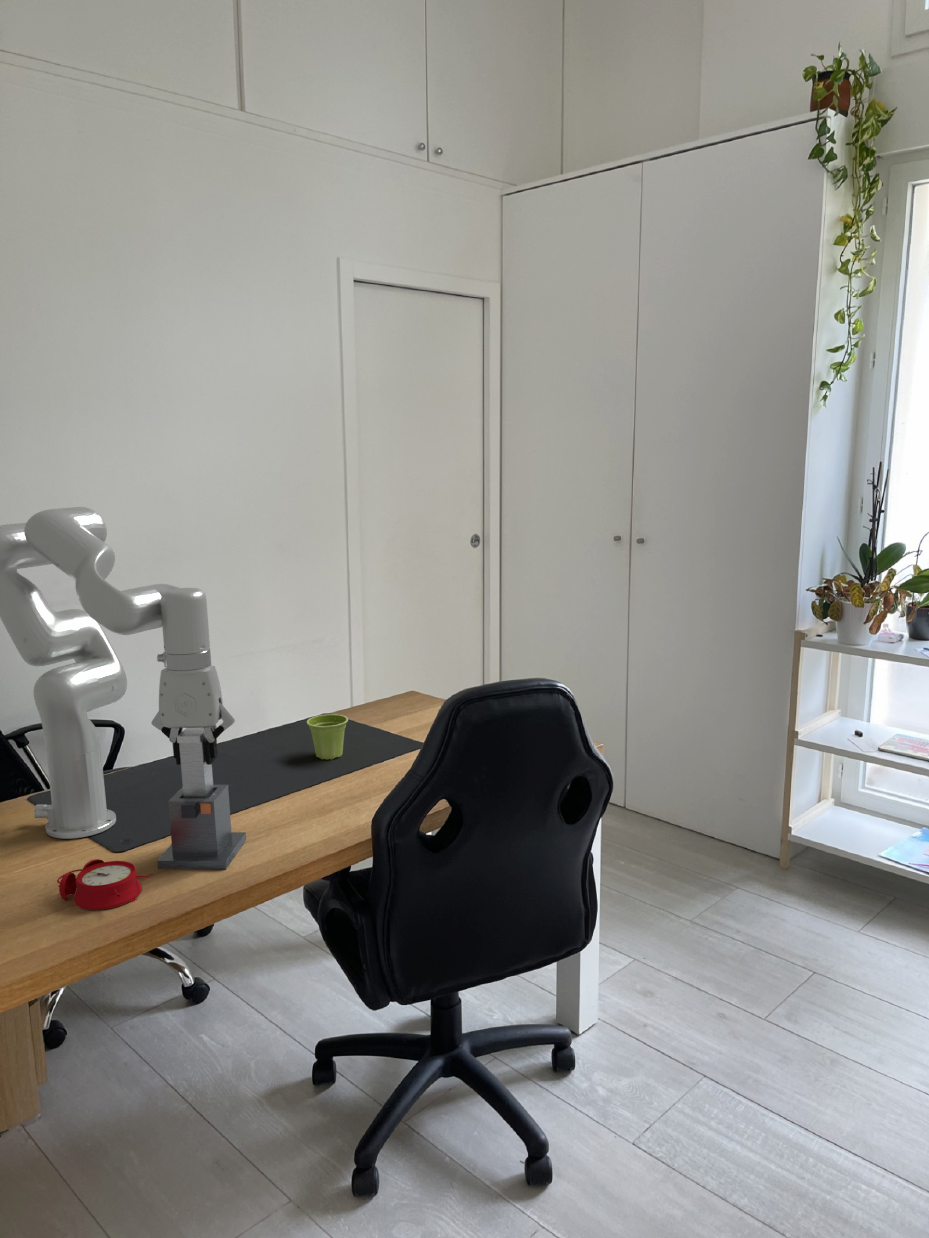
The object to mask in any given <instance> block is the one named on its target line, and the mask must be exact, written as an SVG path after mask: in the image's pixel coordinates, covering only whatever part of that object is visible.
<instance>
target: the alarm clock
mask: <svg viewBox="0 0 929 1238" xmlns="http://www.w3.org/2000/svg"><path fill="white" fill-rule="evenodd" d="M75 872H79V873H78V874H77V875H76V874H75ZM137 873H138V870H137V868H136V865H134V863H131V862H129V861H124V860H109V861H104V860H102V859H100V858H99V859H98V858H97V859H91V860H90V861H88V862H87V863H85V864H84V866H83V867H82V868H80V869H75V870H71V871H69V872H66V873H64V874H63V875H61V876H60V877H58V878H57V880H56V883H58V884H59V885H58V893H59V896H60V898H61V899H62V900H64V901H68V899H67V897H69V896H70V894H71V895H74V896H73V903H74V905H75V906H76V907H78V908H79V909H82V910H87V911H99V910H109V909H113V908H116V907H117V908H118V907H120V906H122V905H125V904H128V903H130V902H133V901H134V902H136V901H138V898H137V897H139V896H140V894H141V893H142V891H143V884H142V883H141V882H140V880H139V878H152V874H149V875H143V874H142V875H141V874H140V875H138V874H137ZM68 895H69V896H68ZM135 900H136V901H135Z"/></svg>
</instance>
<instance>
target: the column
mask: <svg viewBox="0 0 929 1238" xmlns="http://www.w3.org/2000/svg"><path fill="white" fill-rule="evenodd" d="M206 742H207V737H206V734H205V731H204V728H184V729H183V730H182V732H181V733H180V734H179V735H178V736H177V743H179V747H180V759H181V764H180V768H181V781H182V787H183V796H184V798H209V797H210V796H211V795H212V794H213V793H214V788H213V785H214V778H213V763H212V764H211V765H207V764H206V757H205V743H206Z"/></svg>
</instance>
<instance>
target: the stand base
mask: <svg viewBox="0 0 929 1238" xmlns="http://www.w3.org/2000/svg"><path fill="white" fill-rule="evenodd" d="M213 788H214V793H213V794H212V795H211V796H210V797H209V798H184V796H183V786H181V787H180V788H179V790H178V791H177V792H175V794H174V795H172V797H171V798H169V800H168V801H167V804H168V814H169V817H168V818H169V827H170V838H171V844H170V845H169V846H168V847H167V848H166V850H164V851H163V853H162V855H161V856H160V857H159V858H158V859H157V861H156V862H157V863H156V865H157V869H158V870H227V869H228V868H229V867H230V865H231V863H232V862H233V860H234V859H235V857H236V856H237V855H238V854H239V851H240V850H241V848H242V847H243V846H244V844H245V842H246V841H247V833H246V831H245V832H244V831H238V832H237V831H234V832H232V824H231V823H232V822H231V820H232V819H231V809H230V805H231V804H230V796H229V795H230V794H229V792H230V791H229V784H213Z"/></svg>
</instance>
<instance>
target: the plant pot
mask: <svg viewBox="0 0 929 1238" xmlns="http://www.w3.org/2000/svg"><path fill="white" fill-rule="evenodd" d="M348 722H349V718H348V717H347V716H345V715H342V714H335V713H333V714H331V713H330V714H320V715H316V716H312V717H310V718H308V720H306V724H307V726H308V727H309V731H310V732H311V738H312V742H313V747H314V753H315V756H316V758H319V759H320V760H324V759H325V760H329V759H330V760H334V759H335V758H340V757H342V755H343V751H344V741H345V739H344V738H345V731H346V730H345V729H346V727H347V723H348Z"/></svg>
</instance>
